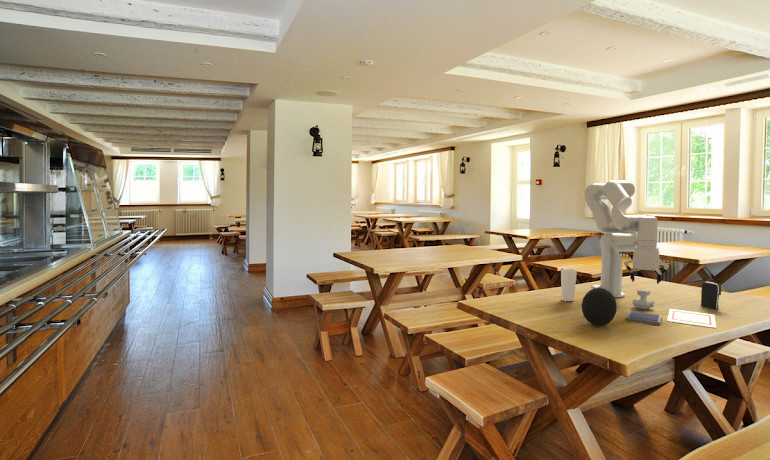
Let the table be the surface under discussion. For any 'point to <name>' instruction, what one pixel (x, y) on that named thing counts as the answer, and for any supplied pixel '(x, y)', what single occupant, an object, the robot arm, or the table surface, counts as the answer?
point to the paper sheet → (692, 318)
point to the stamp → (643, 300)
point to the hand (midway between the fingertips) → (645, 282)
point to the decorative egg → (599, 306)
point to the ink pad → (644, 317)
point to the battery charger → (710, 294)
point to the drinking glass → (568, 284)
